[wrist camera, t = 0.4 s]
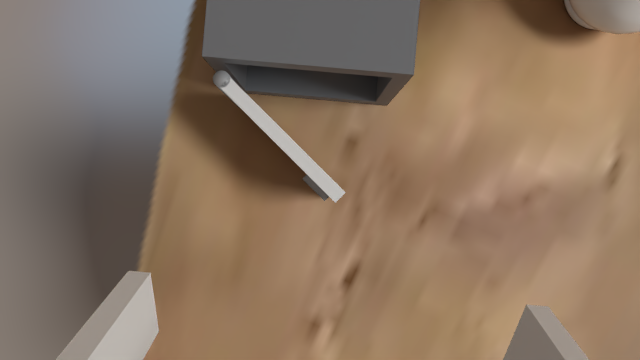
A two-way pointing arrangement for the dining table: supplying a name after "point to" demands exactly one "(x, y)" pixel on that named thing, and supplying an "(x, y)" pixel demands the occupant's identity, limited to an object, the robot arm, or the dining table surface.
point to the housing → (314, 47)
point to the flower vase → (606, 15)
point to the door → (279, 138)
